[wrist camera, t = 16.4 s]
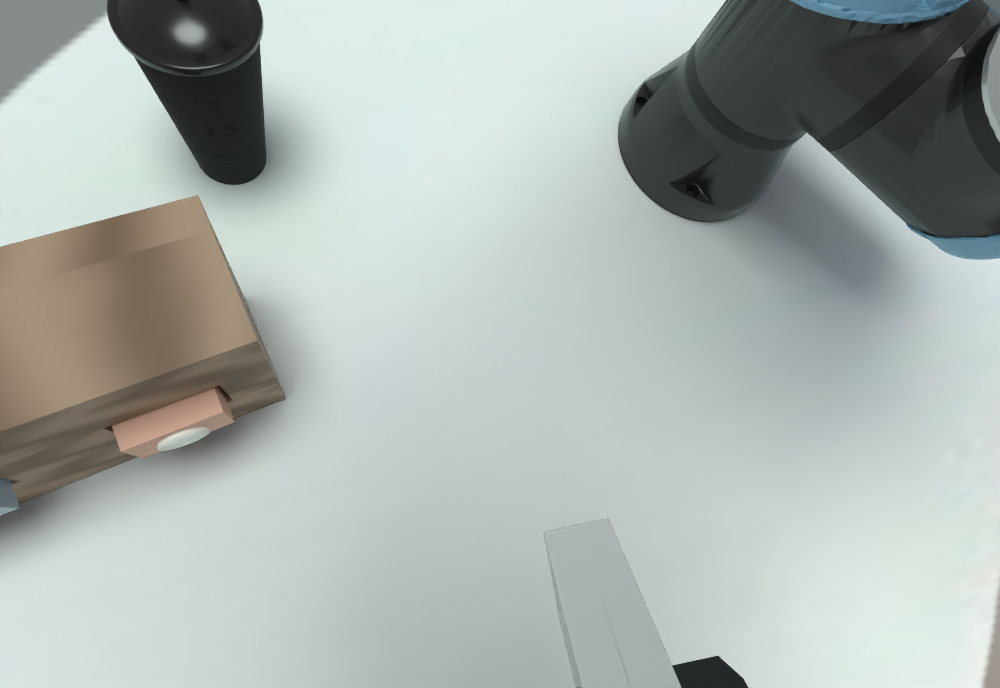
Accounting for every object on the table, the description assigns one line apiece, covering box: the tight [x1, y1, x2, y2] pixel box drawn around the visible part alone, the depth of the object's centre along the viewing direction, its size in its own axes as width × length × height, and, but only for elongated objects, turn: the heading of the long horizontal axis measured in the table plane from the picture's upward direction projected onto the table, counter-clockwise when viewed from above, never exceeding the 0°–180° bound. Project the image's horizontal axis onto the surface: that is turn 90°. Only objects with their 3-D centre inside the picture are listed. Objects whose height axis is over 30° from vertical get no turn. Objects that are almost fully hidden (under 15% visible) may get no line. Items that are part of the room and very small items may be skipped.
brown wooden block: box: [0, 195, 285, 504], centre depth 31 cm, size 22×8×14 cm, turn 116°
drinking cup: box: [107, 0, 266, 184], centre depth 35 cm, size 8×8×20 cm
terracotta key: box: [111, 386, 235, 458], centre depth 32 cm, size 5×6×4 cm
